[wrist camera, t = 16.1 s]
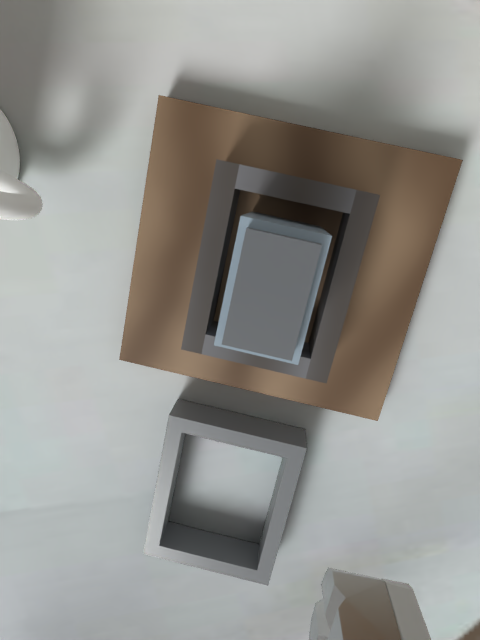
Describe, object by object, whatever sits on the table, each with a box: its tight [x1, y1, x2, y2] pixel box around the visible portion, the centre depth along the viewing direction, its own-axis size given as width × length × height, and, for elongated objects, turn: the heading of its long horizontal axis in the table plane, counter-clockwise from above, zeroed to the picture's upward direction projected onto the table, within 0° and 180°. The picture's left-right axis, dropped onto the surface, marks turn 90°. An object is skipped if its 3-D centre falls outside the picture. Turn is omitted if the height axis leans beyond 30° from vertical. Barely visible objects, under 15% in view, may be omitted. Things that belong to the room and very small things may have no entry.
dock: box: [119, 95, 462, 421], centre depth 27 cm, size 17×16×4 cm
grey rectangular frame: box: [143, 399, 307, 585], centre depth 32 cm, size 9×11×2 cm
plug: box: [214, 211, 332, 365], centre depth 24 cm, size 4×6×8 cm, turn 168°
